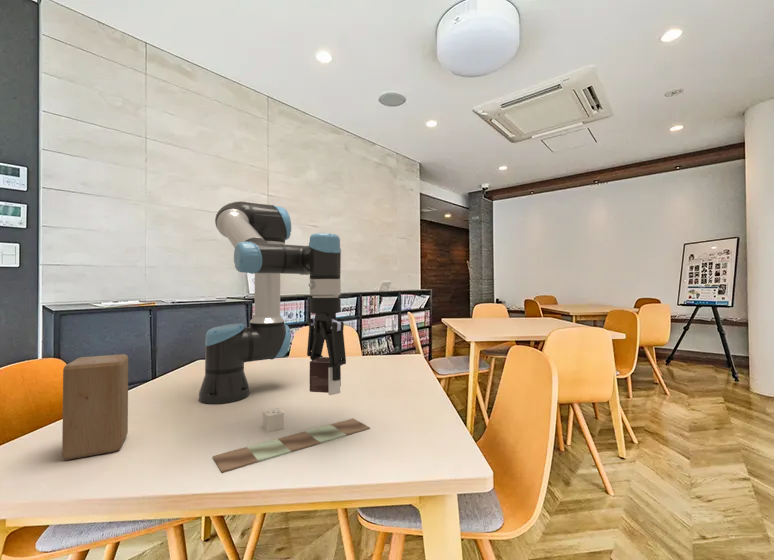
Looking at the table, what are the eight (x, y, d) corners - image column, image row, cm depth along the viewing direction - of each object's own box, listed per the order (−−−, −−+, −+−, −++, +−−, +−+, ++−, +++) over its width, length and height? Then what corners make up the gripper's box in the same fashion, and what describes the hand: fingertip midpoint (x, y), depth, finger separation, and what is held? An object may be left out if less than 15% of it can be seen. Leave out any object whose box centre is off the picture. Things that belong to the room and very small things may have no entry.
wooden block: (60, 462, 74) (61, 365, 74) (75, 443, 83) (76, 356, 83) (120, 452, 78) (121, 360, 79) (128, 435, 87) (129, 353, 88)
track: (212, 457, 76) (212, 455, 76) (353, 419, 97) (353, 418, 97) (221, 473, 69) (221, 471, 69) (370, 428, 91) (370, 427, 91)
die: (262, 427, 92) (262, 411, 92) (278, 423, 94) (278, 408, 95) (267, 432, 89) (267, 415, 89) (283, 428, 91) (283, 412, 91)
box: (332, 394, 84) (332, 362, 84) (308, 392, 85) (308, 361, 85) (341, 386, 90) (341, 357, 90) (318, 385, 91) (318, 356, 91)
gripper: (293, 296, 94) (293, 383, 94) (332, 298, 78) (332, 403, 77) (319, 295, 99) (319, 378, 98) (361, 297, 82) (362, 396, 82)
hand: (325, 389), depth 88 cm, fingers closed on box, 8 cm apart
